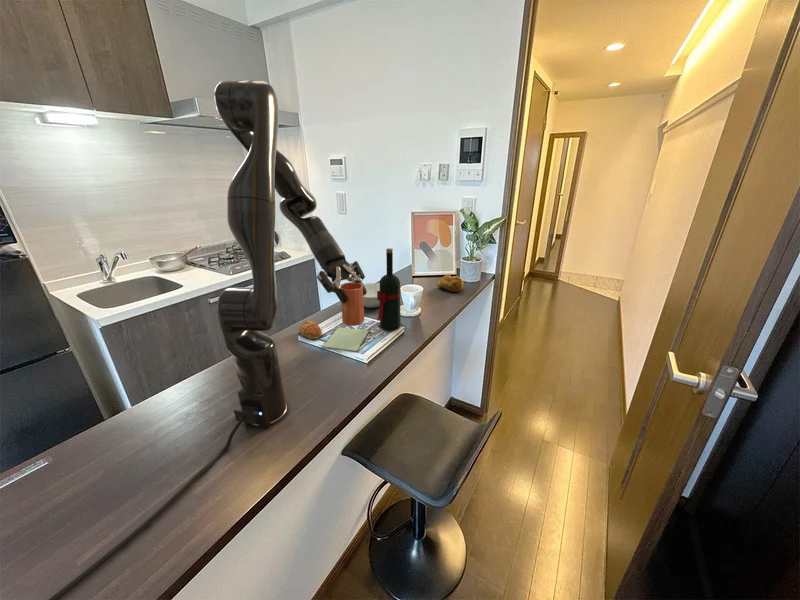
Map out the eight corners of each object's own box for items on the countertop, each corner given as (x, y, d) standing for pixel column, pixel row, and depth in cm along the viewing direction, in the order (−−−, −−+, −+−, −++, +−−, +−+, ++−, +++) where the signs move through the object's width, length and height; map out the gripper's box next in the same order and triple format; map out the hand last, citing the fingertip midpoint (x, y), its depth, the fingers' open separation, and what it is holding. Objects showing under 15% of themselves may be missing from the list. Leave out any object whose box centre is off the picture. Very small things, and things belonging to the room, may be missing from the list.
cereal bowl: (377, 315, 132) (377, 299, 129) (345, 307, 140) (344, 292, 137) (398, 301, 146) (398, 286, 143) (368, 294, 153) (367, 280, 150)
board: (356, 351, 107) (356, 350, 107) (322, 347, 110) (322, 346, 110) (369, 331, 120) (369, 330, 120) (338, 328, 122) (338, 327, 122)
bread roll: (434, 289, 159) (434, 274, 156) (442, 283, 167) (443, 269, 163) (458, 295, 153) (459, 279, 149) (466, 288, 160) (467, 273, 157)
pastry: (327, 335, 117) (326, 326, 115) (310, 342, 113) (309, 332, 111) (313, 326, 123) (312, 317, 122) (297, 333, 119) (295, 323, 117)
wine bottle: (371, 328, 122) (368, 250, 110) (389, 319, 129) (388, 245, 117) (386, 335, 117) (385, 254, 105) (404, 325, 124) (405, 248, 113)
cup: (360, 327, 92) (358, 291, 88) (339, 324, 94) (336, 289, 89) (366, 317, 98) (365, 283, 94) (347, 315, 99) (345, 281, 95)
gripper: (309, 247, 86) (341, 299, 84) (350, 238, 97) (379, 284, 94) (300, 262, 92) (330, 312, 89) (340, 252, 102) (367, 296, 99)
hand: (355, 297), depth 92 cm, fingers closed on cup, 6 cm apart
